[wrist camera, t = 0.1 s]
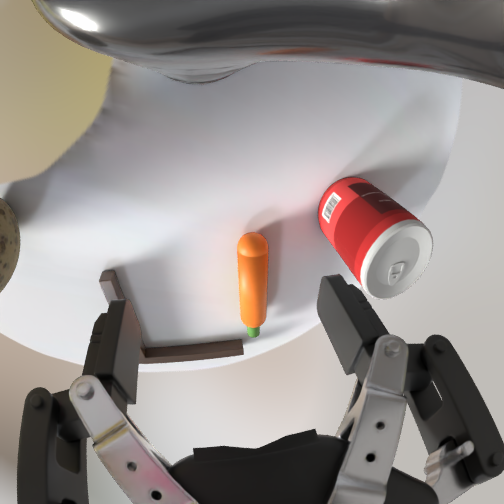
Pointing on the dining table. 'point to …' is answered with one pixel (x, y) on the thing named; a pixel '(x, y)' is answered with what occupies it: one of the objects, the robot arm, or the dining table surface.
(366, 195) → the canned food
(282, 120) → the dining table surface
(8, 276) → the decorative egg
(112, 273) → the corner guide
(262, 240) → the carrot
